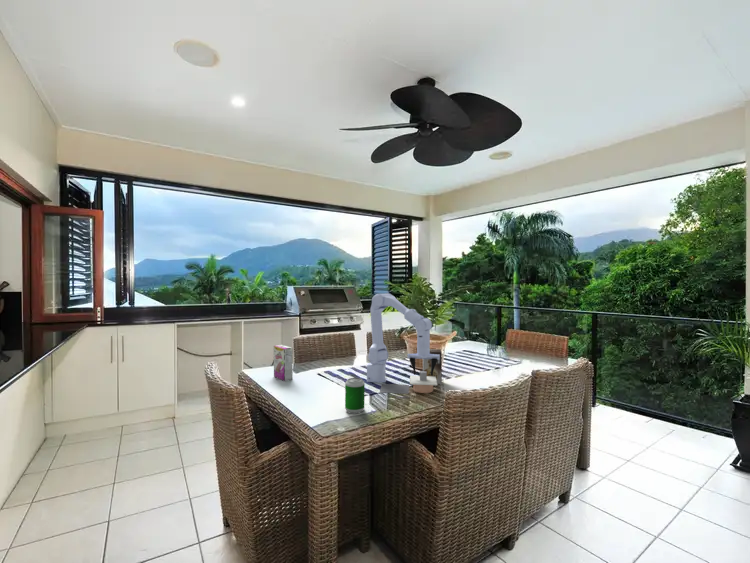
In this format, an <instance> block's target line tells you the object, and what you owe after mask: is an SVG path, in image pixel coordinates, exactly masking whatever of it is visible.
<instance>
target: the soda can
mask: <svg viewBox="0 0 750 563" xmlns="http://www.w3.org/2000/svg"><path fill="white" fill-rule="evenodd" d="M365 389H366V386H365V380H363V379H362V378H361V377H351V378H347V380H346V381H345V384H344V390H345V391H344V392H345V393H344V395H345V397H344V401H345V402H344V406H345V407H344V408H345V410H346V411H347V412H348V413H349V412H350V414H353V413H356V414H360V413H362V412H363V411H364V409H365V395H366V394H365ZM361 411H362V412H361ZM359 412H360V413H359Z"/></svg>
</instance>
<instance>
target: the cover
mask: <svg viewBox="0 0 750 563" xmlns="http://www.w3.org/2000/svg"><path fill="white" fill-rule="evenodd" d="M409 376H410V377H409V385H433V386H438V384H437V381H436V377H434V376H427V372H426V371H423V370H420V371H419V375H409Z"/></svg>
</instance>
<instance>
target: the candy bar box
mask: <svg viewBox="0 0 750 563" xmlns="http://www.w3.org/2000/svg"><path fill="white" fill-rule="evenodd" d="M293 367H294V366H293V347H291V346H289V345H284V344H277V345H276V344H275V345H273V378H274V377H275V378H276V379H279V380H280V381H283V382H288V381H292V380H293Z"/></svg>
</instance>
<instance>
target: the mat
mask: <svg viewBox="0 0 750 563" xmlns="http://www.w3.org/2000/svg"><path fill="white" fill-rule="evenodd" d="M409 392H410V384H396V383H382V384H381V387H380V390H379V392H378V393H382V394H383V393H385V394H410V393H409Z"/></svg>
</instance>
